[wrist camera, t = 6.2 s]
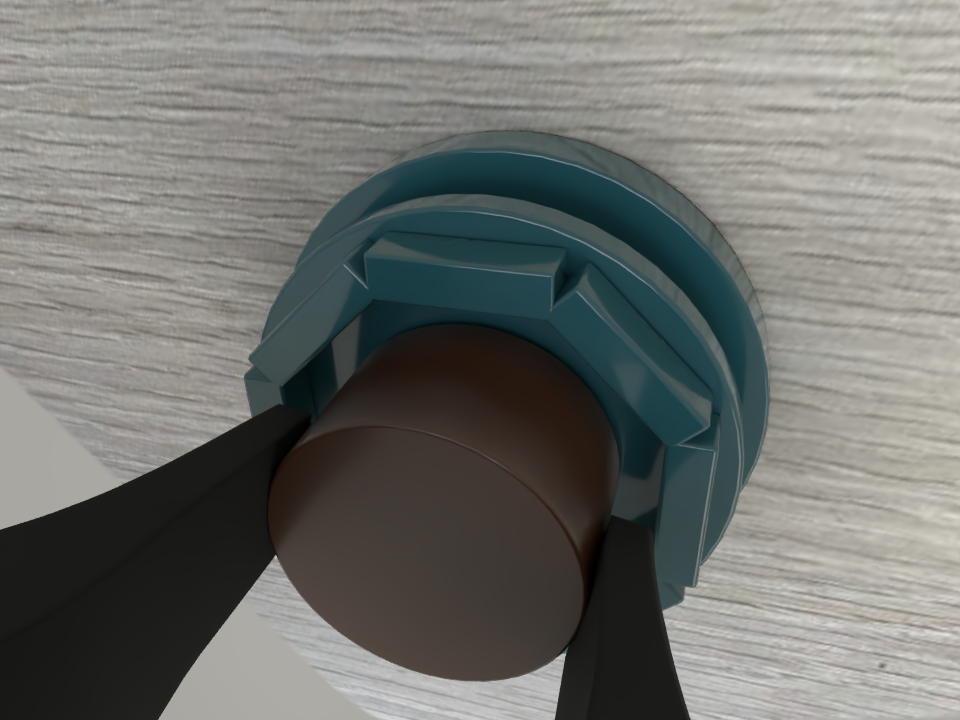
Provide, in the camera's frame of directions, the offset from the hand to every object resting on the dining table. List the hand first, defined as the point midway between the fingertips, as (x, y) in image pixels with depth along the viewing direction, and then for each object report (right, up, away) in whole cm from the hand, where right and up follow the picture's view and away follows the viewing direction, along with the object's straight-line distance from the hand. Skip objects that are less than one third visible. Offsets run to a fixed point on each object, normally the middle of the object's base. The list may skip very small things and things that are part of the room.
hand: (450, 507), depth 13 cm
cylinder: (0, +1, +1) cm, 2 cm away
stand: (+1, +2, +4) cm, 5 cm away
